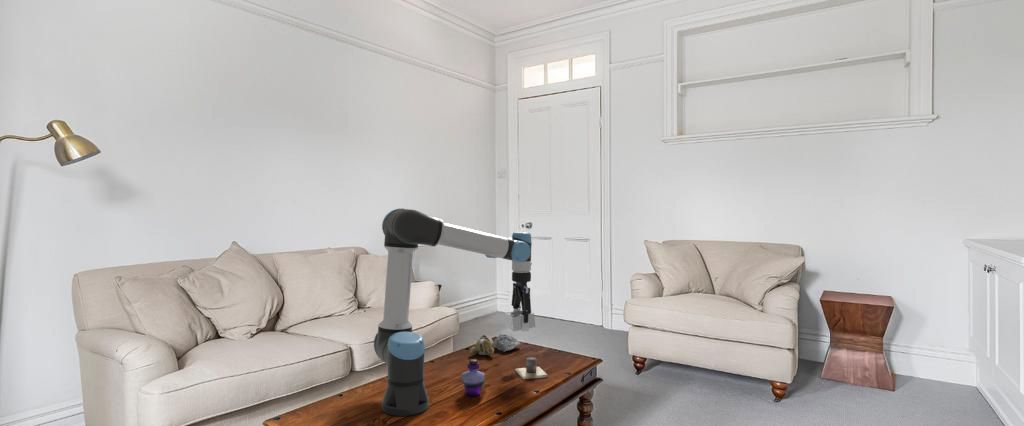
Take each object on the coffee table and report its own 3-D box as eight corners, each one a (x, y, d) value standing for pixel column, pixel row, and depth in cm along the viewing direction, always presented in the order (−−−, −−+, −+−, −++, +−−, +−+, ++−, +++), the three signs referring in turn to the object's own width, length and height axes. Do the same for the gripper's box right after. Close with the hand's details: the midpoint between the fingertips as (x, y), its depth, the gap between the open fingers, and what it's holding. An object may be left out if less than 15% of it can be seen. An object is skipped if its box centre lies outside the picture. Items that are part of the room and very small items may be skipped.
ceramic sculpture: (498, 331, 240) (492, 341, 225) (498, 349, 241) (492, 361, 226) (475, 329, 242) (468, 340, 227) (475, 348, 242) (468, 360, 228)
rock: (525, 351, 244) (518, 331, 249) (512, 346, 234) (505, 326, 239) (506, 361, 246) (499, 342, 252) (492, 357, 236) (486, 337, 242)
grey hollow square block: (513, 331, 203) (512, 317, 203) (506, 326, 212) (505, 312, 212) (535, 327, 206) (534, 313, 206) (527, 322, 215) (526, 309, 214)
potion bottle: (489, 396, 184) (489, 362, 184) (465, 400, 180) (466, 365, 180) (479, 388, 192) (479, 355, 191) (457, 391, 188) (457, 358, 187)
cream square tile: (523, 379, 202) (523, 363, 202) (515, 371, 211) (515, 356, 211) (547, 377, 205) (547, 361, 205) (538, 369, 214) (539, 354, 214)
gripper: (540, 274, 199) (539, 334, 200) (521, 267, 220) (520, 321, 220) (521, 275, 197) (520, 335, 197) (504, 267, 217) (503, 322, 218)
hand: (520, 327), depth 209 cm, fingers closed on grey hollow square block, 9 cm apart
